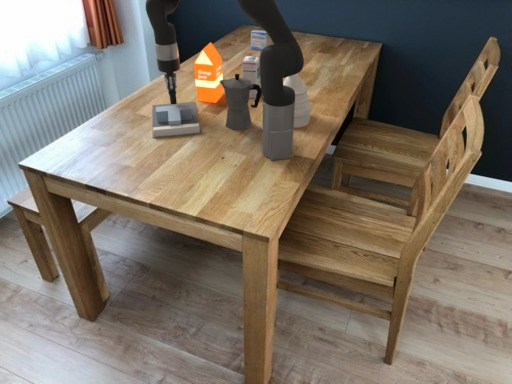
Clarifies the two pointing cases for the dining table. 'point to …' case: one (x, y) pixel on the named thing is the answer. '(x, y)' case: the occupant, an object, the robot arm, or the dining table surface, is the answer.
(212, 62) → the orange juice
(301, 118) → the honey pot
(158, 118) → the t block
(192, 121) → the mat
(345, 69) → the dining table surface
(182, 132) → the rail
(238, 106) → the coffeepot
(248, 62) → the syrup box
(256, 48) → the medicine box
